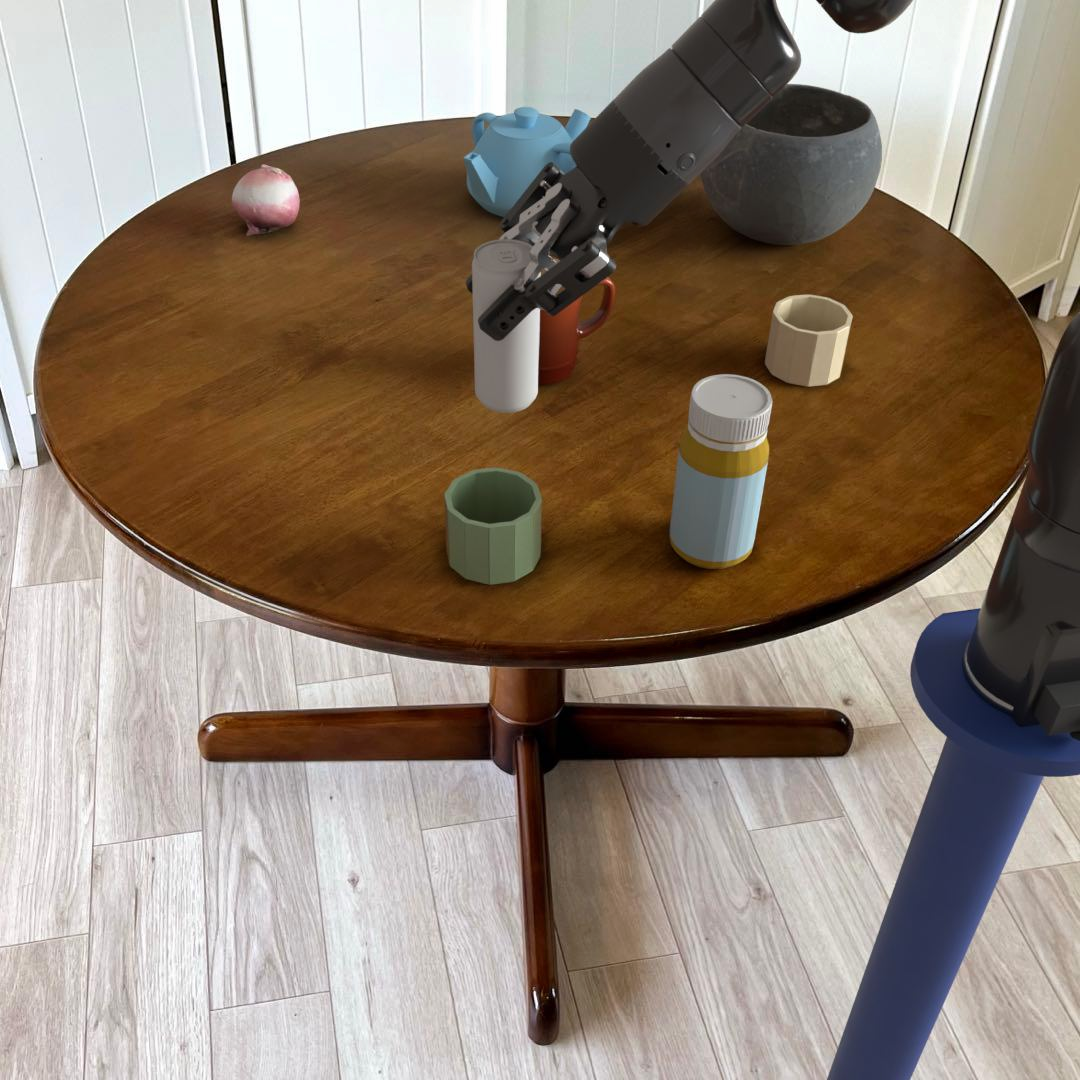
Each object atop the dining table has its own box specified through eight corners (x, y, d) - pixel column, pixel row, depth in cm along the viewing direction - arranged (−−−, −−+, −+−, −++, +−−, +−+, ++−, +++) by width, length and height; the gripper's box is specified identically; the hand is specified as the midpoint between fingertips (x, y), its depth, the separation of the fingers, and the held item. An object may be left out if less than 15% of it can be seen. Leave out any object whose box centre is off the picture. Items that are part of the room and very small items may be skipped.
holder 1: (547, 577, 100) (549, 520, 96) (455, 589, 99) (452, 531, 95) (529, 519, 106) (530, 463, 102) (441, 529, 104) (439, 473, 101)
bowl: (901, 240, 147) (928, 116, 137) (779, 289, 137) (800, 160, 128) (778, 181, 159) (796, 63, 149) (659, 222, 150) (669, 99, 140)
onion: (316, 227, 147) (310, 169, 142) (265, 249, 142) (257, 191, 138) (272, 207, 151) (264, 150, 146) (221, 228, 146) (212, 170, 142)
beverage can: (531, 377, 96) (532, 235, 88) (544, 412, 92) (547, 267, 84) (470, 384, 95) (466, 241, 87) (481, 419, 91) (478, 273, 84)
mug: (513, 401, 119) (513, 307, 113) (484, 356, 126) (483, 264, 119) (626, 379, 123) (633, 287, 116) (593, 336, 129) (598, 246, 122)
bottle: (767, 563, 102) (794, 412, 92) (690, 581, 100) (710, 429, 90) (729, 512, 107) (751, 364, 97) (655, 528, 105) (670, 379, 95)
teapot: (608, 222, 149) (613, 131, 142) (465, 229, 147) (463, 138, 140) (587, 170, 161) (590, 83, 154) (454, 176, 159) (451, 89, 152)
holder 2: (852, 382, 123) (864, 329, 119) (780, 389, 122) (790, 336, 118) (824, 343, 129) (834, 291, 125) (755, 349, 128) (763, 298, 124)
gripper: (593, 63, 86) (428, 236, 91) (648, 145, 75) (457, 335, 81) (661, 132, 90) (499, 293, 96) (722, 219, 79) (536, 395, 85)
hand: (481, 312), depth 88 cm, fingers closed on beverage can, 5 cm apart
